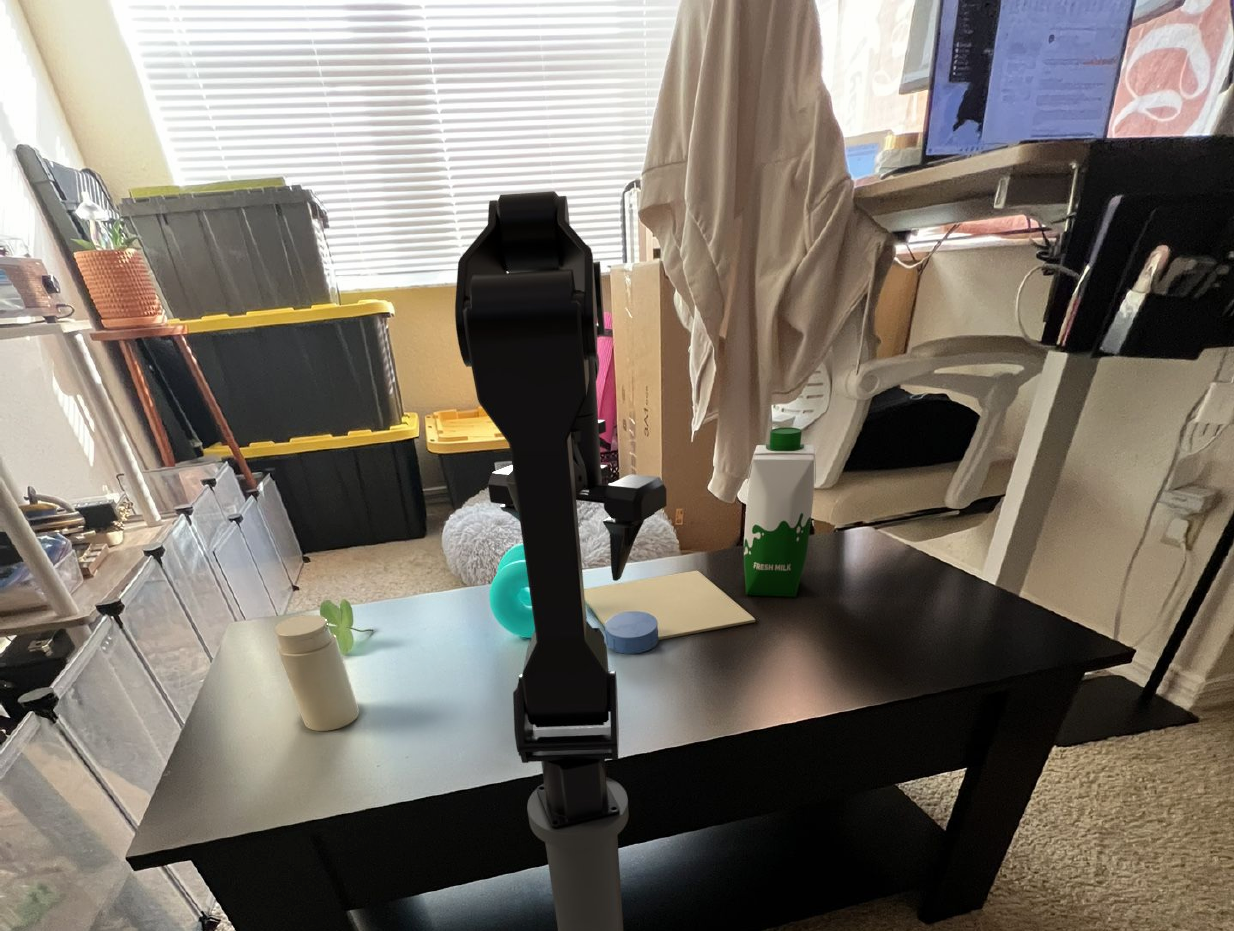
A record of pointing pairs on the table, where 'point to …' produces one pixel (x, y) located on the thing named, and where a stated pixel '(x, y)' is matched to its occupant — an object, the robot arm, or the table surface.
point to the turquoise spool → (512, 594)
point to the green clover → (340, 623)
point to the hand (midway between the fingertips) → (581, 573)
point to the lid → (631, 632)
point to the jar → (316, 672)
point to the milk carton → (778, 514)
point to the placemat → (670, 603)
